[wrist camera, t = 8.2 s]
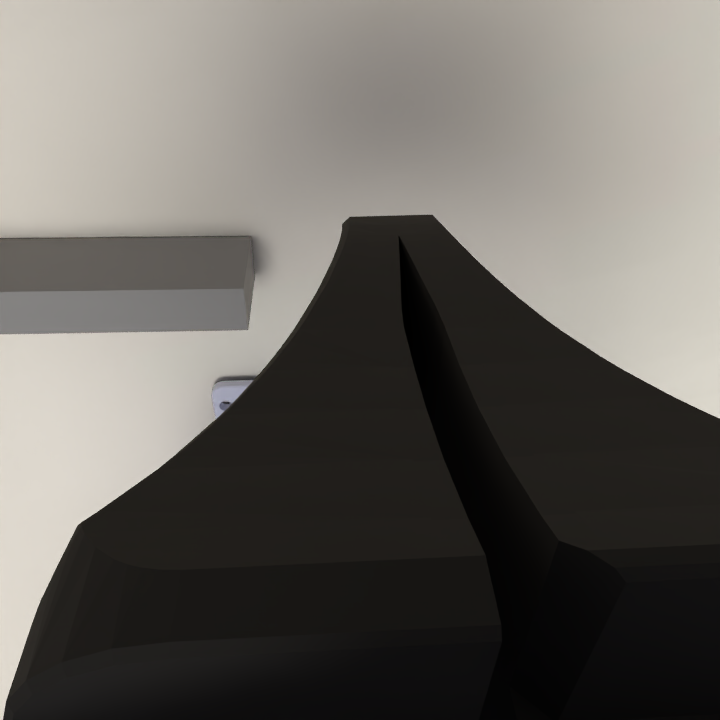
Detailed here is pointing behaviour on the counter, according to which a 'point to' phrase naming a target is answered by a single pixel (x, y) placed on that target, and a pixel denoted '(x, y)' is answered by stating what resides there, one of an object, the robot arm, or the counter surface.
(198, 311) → the green and grey bars
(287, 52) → the counter surface
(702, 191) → the counter surface
